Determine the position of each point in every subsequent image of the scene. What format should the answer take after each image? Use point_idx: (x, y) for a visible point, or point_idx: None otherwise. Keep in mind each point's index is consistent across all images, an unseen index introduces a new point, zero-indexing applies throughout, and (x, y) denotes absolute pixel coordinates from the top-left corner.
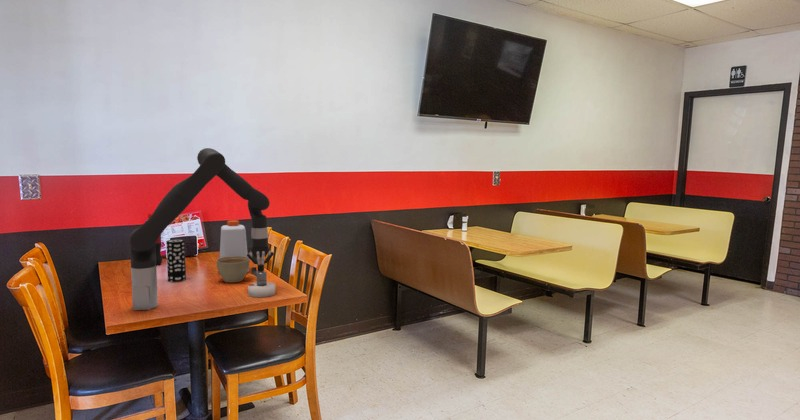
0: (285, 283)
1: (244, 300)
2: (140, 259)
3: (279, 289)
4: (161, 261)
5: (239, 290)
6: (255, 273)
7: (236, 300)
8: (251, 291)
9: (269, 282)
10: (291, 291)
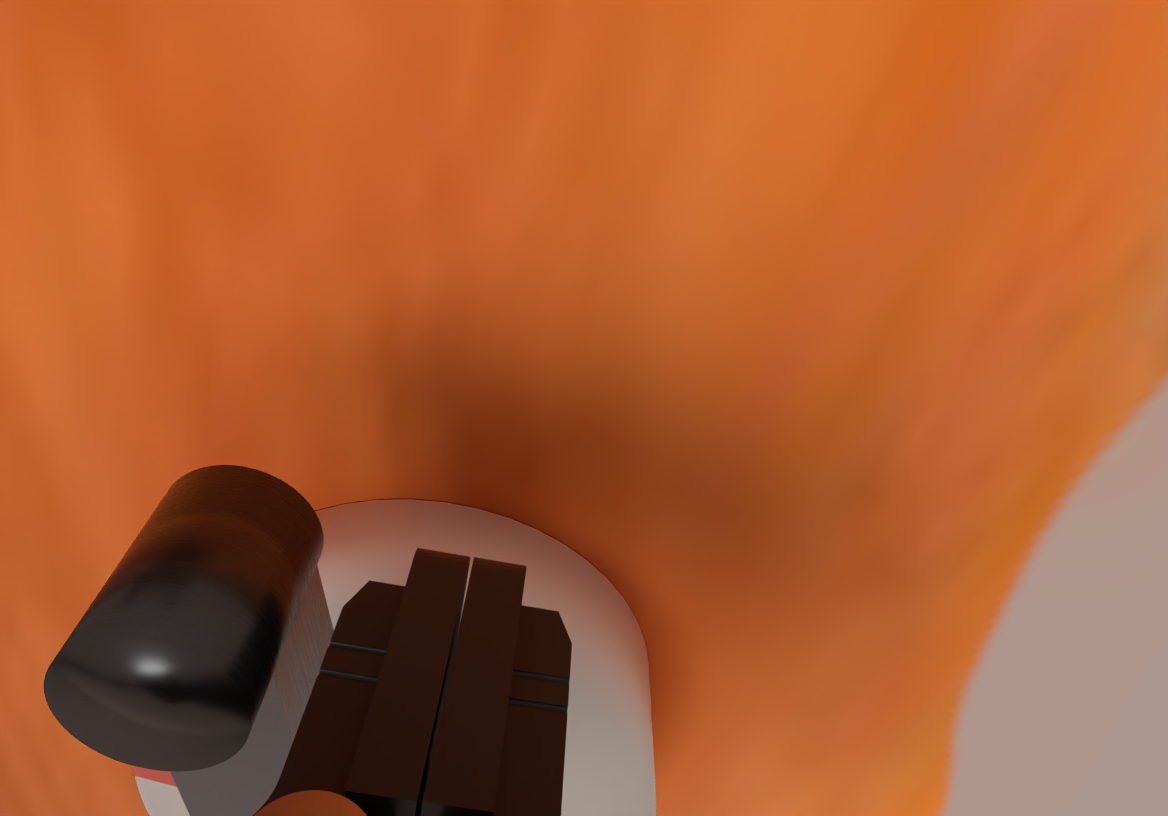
0: (1144, 282)
1: (141, 807)
2: None
3: (784, 601)
4: None
5: (28, 337)
6: None
7: (27, 771)
8: None
9: (593, 732)
10: (891, 751)
